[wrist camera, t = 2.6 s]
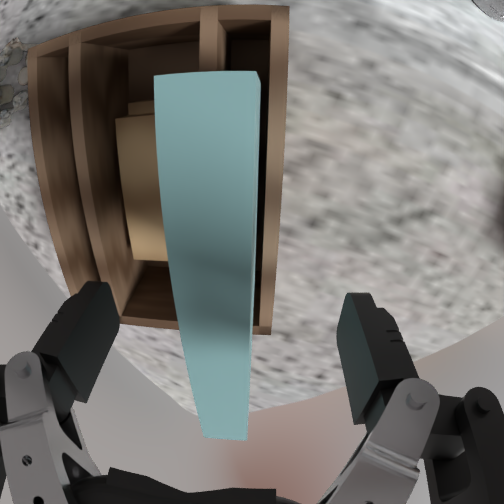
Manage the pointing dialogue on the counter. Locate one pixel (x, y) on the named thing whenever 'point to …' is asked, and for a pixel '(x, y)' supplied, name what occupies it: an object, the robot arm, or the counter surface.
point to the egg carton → (5, 93)
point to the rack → (105, 141)
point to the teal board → (212, 232)
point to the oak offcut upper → (141, 185)
